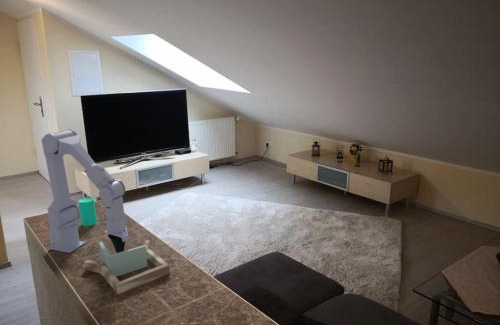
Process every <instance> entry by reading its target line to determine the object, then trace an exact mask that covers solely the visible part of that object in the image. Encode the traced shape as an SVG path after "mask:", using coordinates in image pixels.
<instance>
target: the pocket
mask: <svg viewBox="0 0 500 325" xmlns="http://www.w3.org/2000/svg"><path fill="white" fill-rule="evenodd" d="M150 243H151V242H150V239H146V240H144V245H145V246H146V254H147V261H149V262H150V263H151V264H152V265H154V268H151V269H148V270H146V271H143V272H140V273H138V274H136V275H133V276H131V277H129V278H128V277H127V278H126V279H123V280H119V279H118V278H117V277H115V276H114V274H113V273H112V272H111V271H110V270H109V269H108V268H107V267H106V266H105V264H104V263H102V262H101V261H97V260H91V259H87V260H85V261H84V268H85V271H89V272H92V273H93V272H94V273H98V274H99V275H101V276H102V278H104V280H105V281H106V282H107V283H108V284H109V286H110V287H111V288H112V289H113V291H114V292H115V293H116V294H117V295H121V294H123V293H126V292H128V291H130V290H133V289H135V288H138V287H141V286H143V285H145V284H148V283H149V282H152V281H156V280H157V279H159V278H162V277H164V276H166V275H169V274H171V272H170V271H171V270H170V264H169V263H168V262H166V261H165V260H164V259H163V258H161V257H160V256H159V255H158V254H156V253H155V252H154V251H153V250H151V244H150Z"/></svg>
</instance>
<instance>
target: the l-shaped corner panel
mask: <svg viewBox="0 0 500 325" xmlns="http://www.w3.org/2000/svg"><path fill="white" fill-rule="evenodd" d="M98 248H99V254H100V262H101V263H104V264H105V266H106V267H107V268H108V269H109V270H110V271H111V272H112V273H113V274H114V276H115V277H116V278H117V277H120V276H123V275H126V274H129V273H131V272H132V273H133V272H135V271H138V270H141V269H143V268H146V267H149V266H148V265H149V264H148V259H147V254H146V246H145V245H140V246H137V247H134V248H130V249H127V250H124V251H123V252H119V253H113V254H111V253H110V252H109V250H108V249H107V247H106V246H105V244H104V243H103V241H99V242H98Z"/></svg>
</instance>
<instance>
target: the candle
mask: <svg viewBox="0 0 500 325" xmlns="http://www.w3.org/2000/svg"><path fill="white" fill-rule="evenodd" d="M77 204H78V207H79V209H80V220H81V225H82V226H83V227H91V226H93V225H94V226H95V225H96V224H97V223H98V218H97V213H96V205H95V204H96V203H95V199H94V198H93V197H84V198H81V199H79V200H78V202H77Z"/></svg>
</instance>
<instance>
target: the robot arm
mask: <svg viewBox="0 0 500 325" xmlns="http://www.w3.org/2000/svg"><path fill="white" fill-rule="evenodd" d="M81 140H82V139H81V137H80V136H79V135H78V133H77V132H76V131H75V130H74V129H72V128H69V129H64V130H62V131H57V132H52V133H46V134H44V136H43V137H42V139H41V146H42V150H43V155H44V157H45V162H46V168H47V172H48V177H49V183H50V189H51V194H52V200H53V201H52V202H51V204H50V205H49V206H48V207H47V222H48V224H49V226H50V227H49V231H48V235H49V240H50V244H51V245H50V246H51V247H49V249H50V250H53V251H57V252H62V253H63V252H64V253H68V254H70V253H72V252H74V251H75V250H76V249H79V248H80V247H81V246H84V245H85V244H86V241H83V240H80V236H79V231H78V230H79V229H78V223H79V219H80V218H81V216H80V209H79V204H78V202H77V200H75V199H73V198H71V196H70V190H69V184H68V179H67V172H66V167H65V162H64V156H65V155H71V157H73V159H74V160H75V161H77V162H78V163H79V164H80V165H81V167H82V168H83V169H85V170H86V177H87V178H88V179H89V181H91V183H92V184H93V185H94V186H95V187H96V188H97V189H98V190H99V192H98V196H99V198H100V199H101V201H102V205H103V206H104V208H105V210H104V211H105V216H106V217H105V218H106V229H107V230H104V234H105V235H107V237H108V238H109V240H110V241H111V243H112V245H113V248H114V250H115V252H116V253H119V252H123V251H125V247H126V246H125V245H126V242H127V241H130V235H129V234H128V229H127V225H126V218H125V217H126V216H125V209H124V200H123V196H124V195H125V193H126V186H125V185H124V183H123V181H122V180H120V179H118V178H116V177H113V176H112V175H111V173H109V172H108V170H106V169H105V167H104V166H103V165H102V164H100V163H99V164H98V163H96V162H95V161H94V160H93V159H92V157H91V155H90V154H89V153H88V152H87V150H86V149H85V148H84V147H83V145H82V144H81ZM116 253H115V254H116Z"/></svg>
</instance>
